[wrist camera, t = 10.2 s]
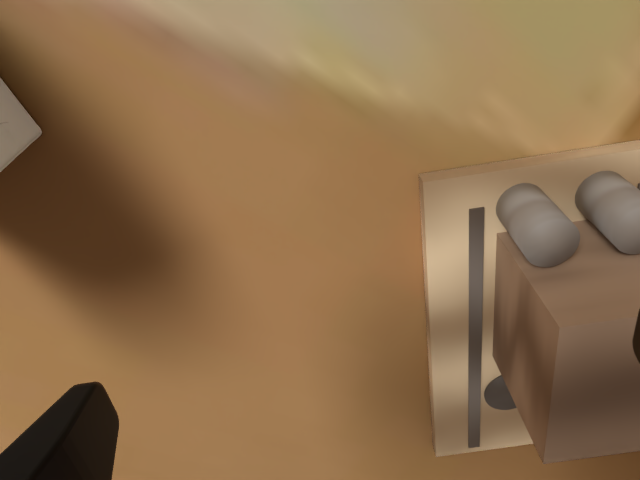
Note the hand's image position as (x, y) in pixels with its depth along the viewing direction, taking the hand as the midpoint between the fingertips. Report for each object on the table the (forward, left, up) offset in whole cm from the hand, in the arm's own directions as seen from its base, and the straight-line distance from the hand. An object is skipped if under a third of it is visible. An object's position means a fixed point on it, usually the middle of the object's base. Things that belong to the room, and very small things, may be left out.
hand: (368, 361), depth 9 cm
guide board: (-12, -9, -13) cm, 20 cm away
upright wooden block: (-9, -9, -12) cm, 18 cm away
